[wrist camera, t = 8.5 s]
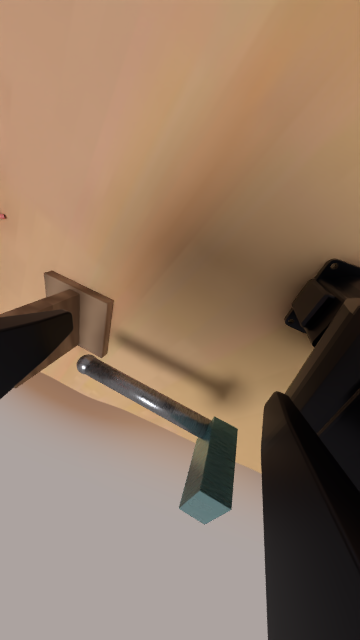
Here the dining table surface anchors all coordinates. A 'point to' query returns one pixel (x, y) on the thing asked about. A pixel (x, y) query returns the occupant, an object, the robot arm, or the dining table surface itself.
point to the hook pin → (213, 436)
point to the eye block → (87, 317)
